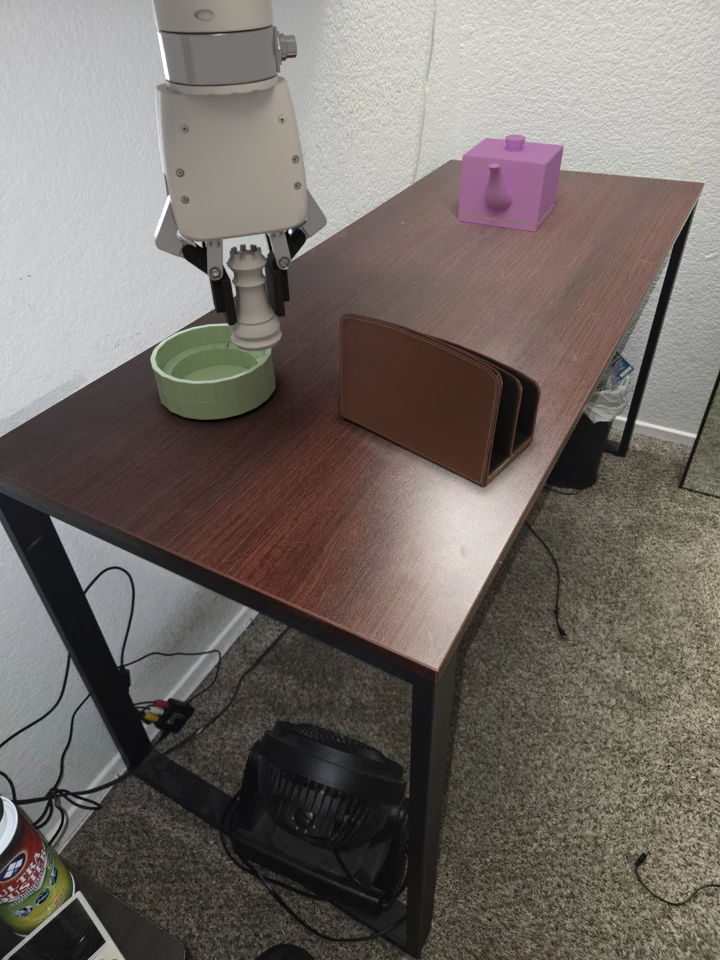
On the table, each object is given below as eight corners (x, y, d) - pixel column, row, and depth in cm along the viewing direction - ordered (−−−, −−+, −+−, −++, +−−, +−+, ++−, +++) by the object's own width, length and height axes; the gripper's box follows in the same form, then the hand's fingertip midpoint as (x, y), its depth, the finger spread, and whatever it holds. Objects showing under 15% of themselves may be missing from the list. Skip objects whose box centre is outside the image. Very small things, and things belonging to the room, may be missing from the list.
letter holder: (484, 489, 67) (500, 368, 58) (339, 418, 77) (333, 305, 68) (533, 443, 72) (555, 326, 63) (392, 382, 82) (394, 274, 73)
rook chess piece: (256, 358, 55) (244, 265, 50) (220, 343, 57) (204, 252, 52) (293, 337, 58) (285, 247, 52) (257, 323, 60) (245, 235, 55)
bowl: (170, 435, 75) (159, 394, 71) (153, 374, 85) (143, 336, 81) (289, 408, 79) (285, 368, 75) (260, 353, 89) (255, 315, 85)
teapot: (444, 233, 121) (449, 150, 112) (487, 193, 138) (494, 118, 129) (524, 245, 116) (536, 160, 107) (559, 202, 133) (572, 125, 124)
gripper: (321, 45, 49) (332, 282, 61) (89, 61, 45) (149, 312, 56) (355, 59, 43) (360, 316, 55) (94, 79, 39) (159, 352, 51)
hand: (253, 312), depth 56 cm, fingers closed on rook chess piece, 3 cm apart
